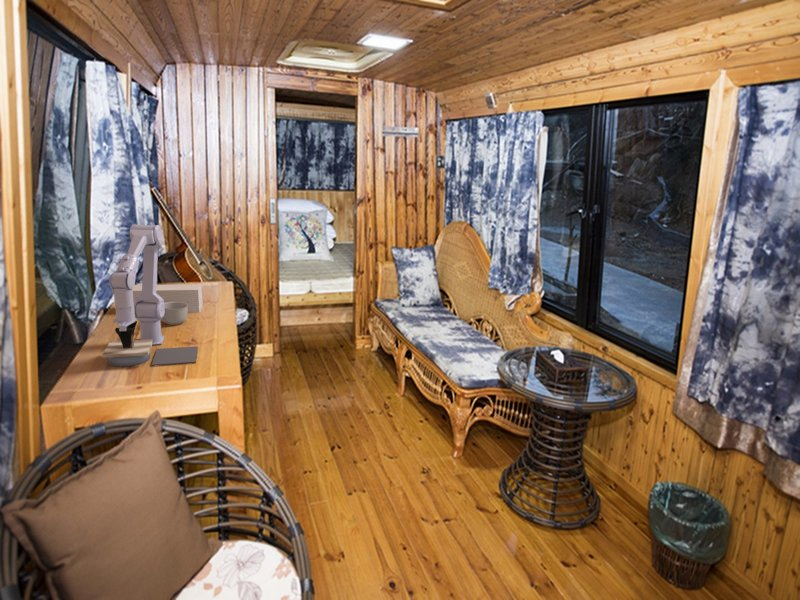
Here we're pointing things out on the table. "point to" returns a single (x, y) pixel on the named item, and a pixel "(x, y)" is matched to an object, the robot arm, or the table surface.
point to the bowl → (128, 360)
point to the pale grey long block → (177, 295)
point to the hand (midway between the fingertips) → (128, 344)
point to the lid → (135, 349)
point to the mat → (175, 356)
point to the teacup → (175, 313)
